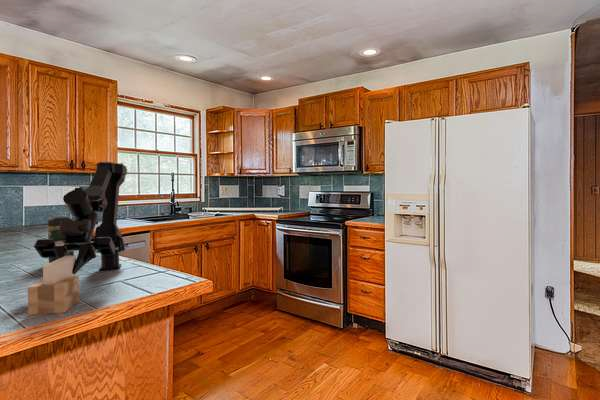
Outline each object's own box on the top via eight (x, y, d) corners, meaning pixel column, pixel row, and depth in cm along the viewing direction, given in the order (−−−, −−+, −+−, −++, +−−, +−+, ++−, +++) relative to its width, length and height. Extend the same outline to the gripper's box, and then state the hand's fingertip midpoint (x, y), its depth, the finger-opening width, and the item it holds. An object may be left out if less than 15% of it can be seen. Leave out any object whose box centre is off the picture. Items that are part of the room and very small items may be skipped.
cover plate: (67, 295, 94) (65, 255, 93) (76, 295, 94) (75, 255, 94) (44, 311, 82) (42, 265, 81) (55, 310, 82) (54, 265, 82)
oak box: (47, 302, 88) (46, 277, 88) (79, 300, 90) (78, 275, 89) (28, 314, 80) (27, 287, 80) (64, 312, 81) (63, 285, 81)
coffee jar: (76, 265, 130) (74, 215, 129) (50, 268, 125) (48, 217, 124) (72, 260, 137) (71, 214, 137) (47, 263, 132) (46, 215, 132)
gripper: (36, 209, 94) (13, 258, 84) (111, 208, 98) (97, 254, 88) (51, 234, 102) (32, 281, 92) (120, 232, 106) (109, 277, 96)
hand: (67, 273), depth 91 cm, fingers closed on cover plate, 2 cm apart
